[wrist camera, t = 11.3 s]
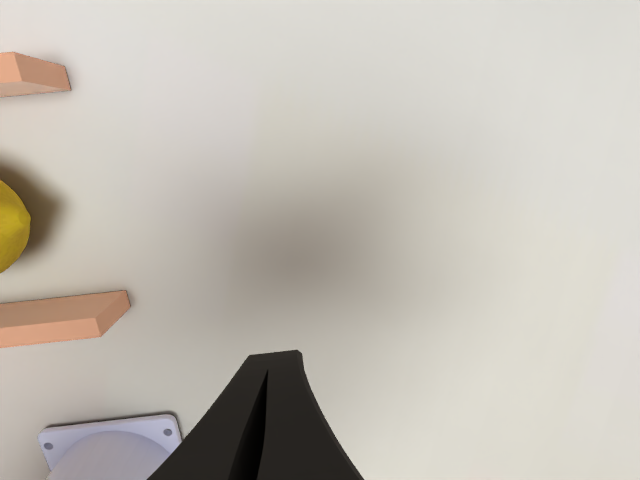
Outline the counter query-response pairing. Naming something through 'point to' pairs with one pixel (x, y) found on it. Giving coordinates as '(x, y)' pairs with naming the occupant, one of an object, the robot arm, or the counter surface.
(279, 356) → the robot arm
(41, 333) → the terracotta bay
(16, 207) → the lemon
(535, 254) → the counter surface
